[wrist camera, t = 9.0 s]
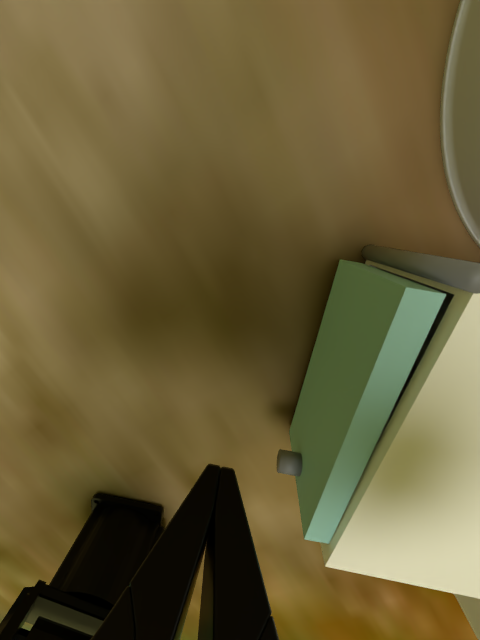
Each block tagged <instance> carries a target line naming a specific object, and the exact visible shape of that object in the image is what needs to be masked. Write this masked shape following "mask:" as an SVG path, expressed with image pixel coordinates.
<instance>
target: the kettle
mask: <svg viewBox="0 0 480 640" xmlns="http://www.w3.org/2000/svg"><path fill="white" fill-rule="evenodd" d="M440 139H441V151H442V160H443V166H444V172H445V176H446V181H447V185H448V188H449V192H450V195H451V198H452V201H453V203H454V206H455V208H456V211H457V213H458V215H459V217H460V219H461V221H462V223H463V225H464V226H465V228H466V230H467V231H468V233H469V234H470V236H471V237H472V239H473V240H474V241H475V243H476V244H477V245H478V247H479V248H480V0H460V3H459V7H458V10H457V14H456V17H455V21H454V25H453V29H452V33H451V37H450V42H449V46H448V51H447V56H446V62H445V68H444V75H443V83H442V92H441V105H440Z"/></svg>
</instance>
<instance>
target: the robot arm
mask: <svg viewBox="0 0 480 640" xmlns="http://www.w3.org/2000/svg"><path fill="white" fill-rule="evenodd" d="M91 506H92V513H91V515H90V516H89V518H88V520H87V522H86V523H85V525H84V527H83V528H82V530H81V532H80V533H79V535H78V537H77V538H76V540H75V542H74V544H73V545H72V547H71V549H70V550H69V552H68V554H67V555H66V557H65V559H64V561H63V562H62V564H61V566H60V567H59V569H58V571H57V572H56V574H55V576H54V577H53V579H52V581H51V583H50V584H49V585H46V582H44V581H42V580H39V581H38V582H37V584H36V585H35V587H24V589H23V590H22V592H21V593H20V595H19V596H18V598H17V599H16V601H15V602H14V604H13V605H12V607H11V608H10V610H9V611H8V613H7V614H6V616H5V617H4V619H3V620H2V622H1V623H0V640H180V637H181V633H182V630H183V626H184V623H185V619H186V616H187V612H188V608H189V605H190V601H191V598H192V594H193V591H194V587H195V584H196V580H197V576H198V573H199V569H200V566H201V562H202V559H203V555H204V551H205V560H204V571H203V583H202V595H201V607H200V619H199V631H198V640H279V638H278V634H277V630H276V627H275V623H274V619H273V617H272V616H270V615H271V608H270V604H269V601H268V597H267V593H266V589H265V585H264V582H263V578H262V574H261V570H260V566H259V563H258V559H257V555H256V551H255V547H254V544H253V540H252V536H251V532H250V528H249V525H248V521H247V517H246V513H245V509H244V506H243V502H242V498H241V494H240V490H239V486H238V483H237V479H236V475H235V472H234V470H233V469H232V468H228V467H221V468H220V466H218V465H213V464H208V465H207V466H206V468H205V469H204V471H203V472H202V474H201V475H200V477H199V479H198V480H197V482H196V483H195V485H194V486H193V488H192V489H191V491H190V492H189V494H188V495H187V497H186V498H185V500H184V501H183V503H182V504H181V506H180V507H179V509H178V510H177V512H176V513H175V515H174V516H173V518H172V519H171V521H170V522H169V524H168V525H167V527H166V528H165V530H164V527H162V518H163V509H162V508H161V507H159V506H155V505H150V504H146V503H141V502H136V501H131V500H126V499H122V498H117V497H112V496H107V495H102V494H95V495H94V496H93V498H92V500H91ZM206 542H207V543H206ZM205 547H206V550H205ZM25 622H28V623H30V624H33V627H32V628H31V630H30V631H28V630H26V629H23V628H22V626H23V625H24V623H25Z"/></svg>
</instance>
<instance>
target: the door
mask: <svg viewBox="0 0 480 640" xmlns="http://www.w3.org/2000/svg"><path fill="white" fill-rule="evenodd" d="M445 296H446V294H445V293H442V292H439V291H437V290H434V289H431V288H428V287H426V286H423V285H420V284H418V283H415V282H412V281H409V280H407V279H404V278H401V277H398V276H396V275H393V274H390V273H388V272H385V271H382V270H379V269H377V268H374V267H371V266H369V265H366V264H363V263H359V262H353V261H347V260H341V259H340V261H339V265H338V268H337V271H336V275H335V278H334V282H333V285H332V288H331V292H330V295H329V298H328V302H327V305H326V309H325V312H324V315H323V319H322V322H321V326H320V329H319V332H318V336H317V339H316V342H315V346H314V349H313V353H312V356H311V359H310V363H309V366H308V370H307V373H306V376H305V380H304V383H303V386H302V390H301V393H300V397H299V400H298V403H297V407H296V410H295V414H294V417H293V420H292V424H291V427H290V430H289V433H290V441H291V448H292V451H287V450H281V449H280V450H279V452H278V456H277V472H278V473H283V474H288V475H294V476H295V477H296V484H297V491H298V499H299V506H300V513H301V520H302V528H303V535H304V539H306V540H311V541H316V542H322V543H327V544H329V543H330V541H331V539H332V537H333V535H334V532H335V530H336V528H337V526H338V524H339V522H340V520H341V518H342V515H343V513H344V511H345V509H346V507H347V505H348V503H349V500H350V498H351V496H352V494H353V492H354V490H355V488H356V486H357V483H358V481H359V479H360V477H361V475H362V473H363V471H364V469H365V466H366V464H367V462H368V460H369V458H370V456H371V454H372V452H373V449H374V447H375V445H376V443H377V441H378V439H379V437H380V435H381V432H382V430H383V428H384V426H385V424H386V422H387V420H388V418H389V415H390V413H391V411H392V409H393V407H394V405H395V403H396V401H397V398H398V396H399V394H400V392H401V390H402V388H403V386H404V384H405V381H406V379H407V377H408V375H409V373H410V371H411V369H412V367H413V364H414V362H415V360H416V358H417V356H418V354H419V352H420V349H421V347H422V345H423V343H424V341H425V339H426V337H427V335H428V332H429V330H430V328H431V326H432V324H433V322H434V320H435V318H436V315H437V313H438V311H439V309H440V307H441V305H442V303H443V301H444V298H445Z"/></svg>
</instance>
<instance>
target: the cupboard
mask: <svg viewBox="0 0 480 640" xmlns="http://www.w3.org/2000/svg"><path fill="white" fill-rule="evenodd" d="M362 257H363V258H364V259H366V262H365V264H366V265H369V266H371V267H374V268H377V269H379V270H382V271H385V272H388V273H390V274H393V275H396V276H398V277H401V278H404V279H407V280H409V281H412V282H415V283H418V284H420V285H423V286H426V287H428V288H431V289H434V290H437V291H439V292H442V293H445V294H446V296H445V298H444V301H443V303H442V305H441V307H440V309H439V311H438V313H437V315H436V318H435V320H434V322H433V324H432V326H431V328H430V330H429V332H428V335H427V337H426V339H425V341H424V343H423V345H422V347H421V349H420V352H419V354H418V356H417V358H416V360H415V362H414V364H413V367H412V369H411V371H410V373H409V375H408V377H407V379H406V381H405V384H404V386H403V388H402V390H401V392H400V394H399V396H398V398H397V401H396V403H395V405H394V407H393V409H392V411H391V413H390V415H389V418H388V420H387V422H386V424H385V426H384V428H383V430H382V432H381V435H380V437H379V439H378V441H377V443H376V445H375V447H374V449H373V452H372V454H371V456H370V458H369V460H368V462H367V464H366V466H365V469H364V471H363V473H362V475H361V477H360V479H359V481H358V483H357V486H356V488H355V490H354V492H353V494H352V496H351V498H350V500H349V503H348V505H347V507H346V509H345V511H344V513H343V515H342V518H341V520H340V522H339V524H338V526H337V528H336V530H335V532H334V535H333V537H332V539H331V541H330V543H329V544H327V543H322V542H320V543H321V548H322V553H323V559H324V564H325V566H326V567H330V568H335V569H340V570H345V571H349V572H354V573H359V574H364V575H369V576H373V577H378V578H383V579H388V580H392V581H397V582H402V583H407V584H411V585H416V586H421V587H426V588H431V589H435V590H440V591H445V592H450V593H454V594H459V595H464V596H469V597H474V598H478V599H480V263H475V262H469V261H464V260H458V259H452V258H446V257H440V256H434V255H428V254H422V253H417V252H411V251H405V250H399V249H393V248H387V247H381V246H375V245H367V246H365V247H364V248H363V250H362Z"/></svg>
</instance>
